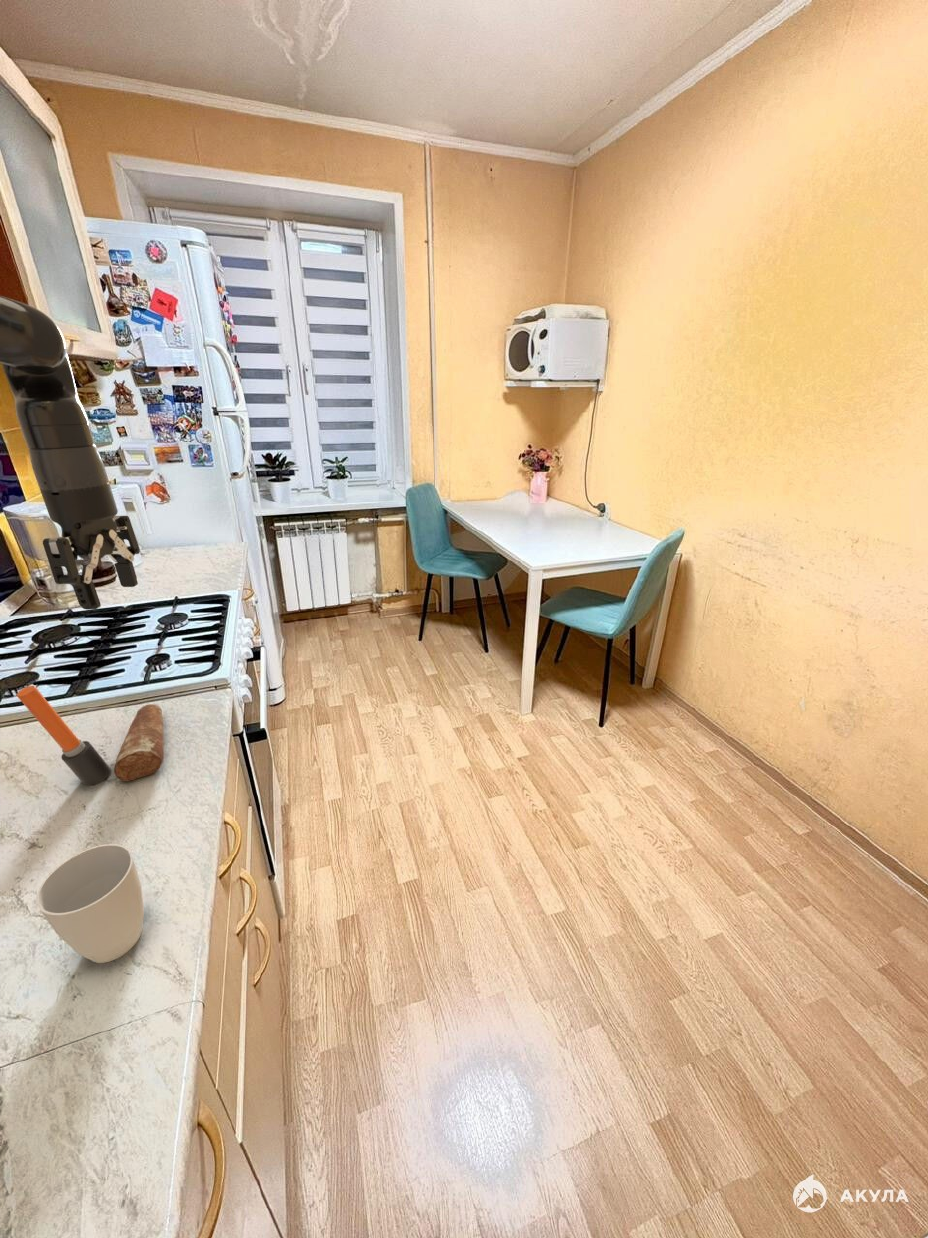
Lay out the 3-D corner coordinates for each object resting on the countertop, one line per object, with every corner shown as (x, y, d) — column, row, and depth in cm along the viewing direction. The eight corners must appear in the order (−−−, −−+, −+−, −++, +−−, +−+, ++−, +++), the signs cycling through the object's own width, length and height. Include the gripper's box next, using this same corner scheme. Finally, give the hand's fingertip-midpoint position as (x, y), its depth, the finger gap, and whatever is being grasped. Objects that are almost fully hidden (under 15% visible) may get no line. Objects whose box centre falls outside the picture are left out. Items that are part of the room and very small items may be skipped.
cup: (163, 896, 60) (139, 835, 55) (151, 961, 53) (123, 897, 49) (83, 919, 57) (52, 857, 53) (59, 992, 50) (22, 927, 46)
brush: (78, 787, 77) (2, 701, 67) (94, 767, 80) (24, 682, 70) (100, 786, 76) (27, 699, 66) (116, 766, 79) (48, 680, 69)
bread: (119, 790, 76) (107, 761, 73) (137, 722, 92) (128, 696, 89) (165, 778, 78) (156, 750, 76) (175, 713, 94) (168, 688, 92)
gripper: (84, 474, 72) (117, 580, 79) (0, 492, 59) (49, 617, 66) (135, 474, 72) (164, 579, 79) (63, 492, 59) (105, 616, 66)
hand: (112, 596), depth 72 cm, fingers open, 8 cm apart
